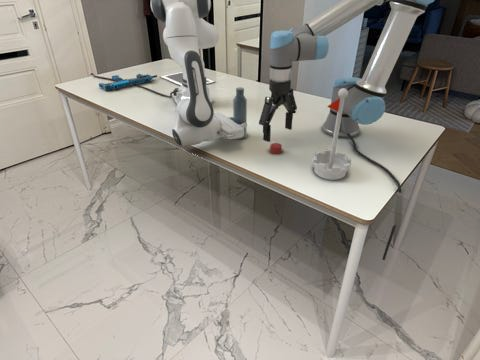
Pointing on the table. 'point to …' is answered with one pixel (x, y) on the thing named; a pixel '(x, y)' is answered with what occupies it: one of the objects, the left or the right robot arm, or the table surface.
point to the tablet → (180, 78)
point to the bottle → (240, 109)
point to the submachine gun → (126, 81)
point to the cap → (275, 148)
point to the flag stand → (333, 149)
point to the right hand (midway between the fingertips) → (277, 134)
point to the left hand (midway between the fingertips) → (241, 121)
